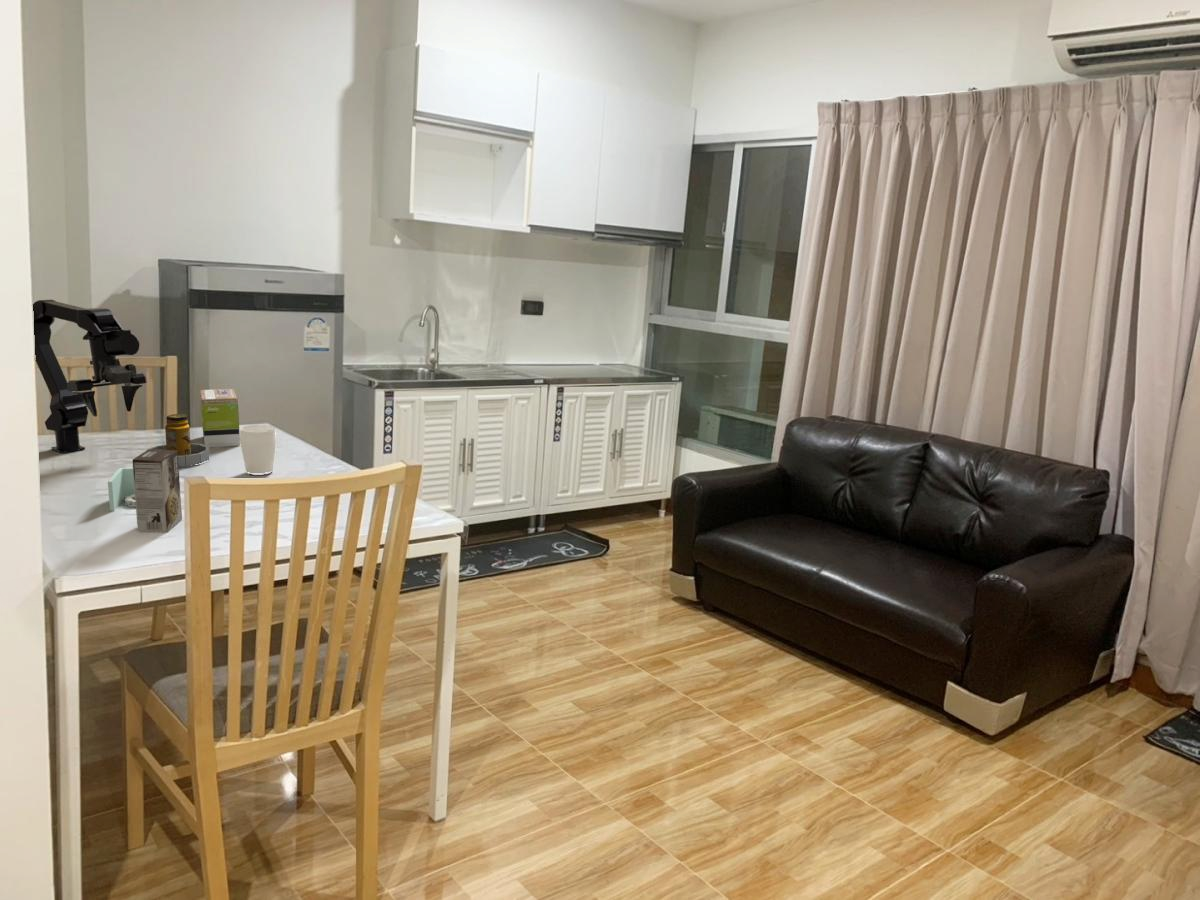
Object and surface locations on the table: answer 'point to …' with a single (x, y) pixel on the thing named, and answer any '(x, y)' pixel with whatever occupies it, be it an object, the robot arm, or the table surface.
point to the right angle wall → (122, 488)
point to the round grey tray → (197, 455)
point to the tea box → (220, 418)
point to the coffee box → (157, 490)
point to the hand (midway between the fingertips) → (112, 413)
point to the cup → (258, 447)
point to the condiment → (178, 434)
